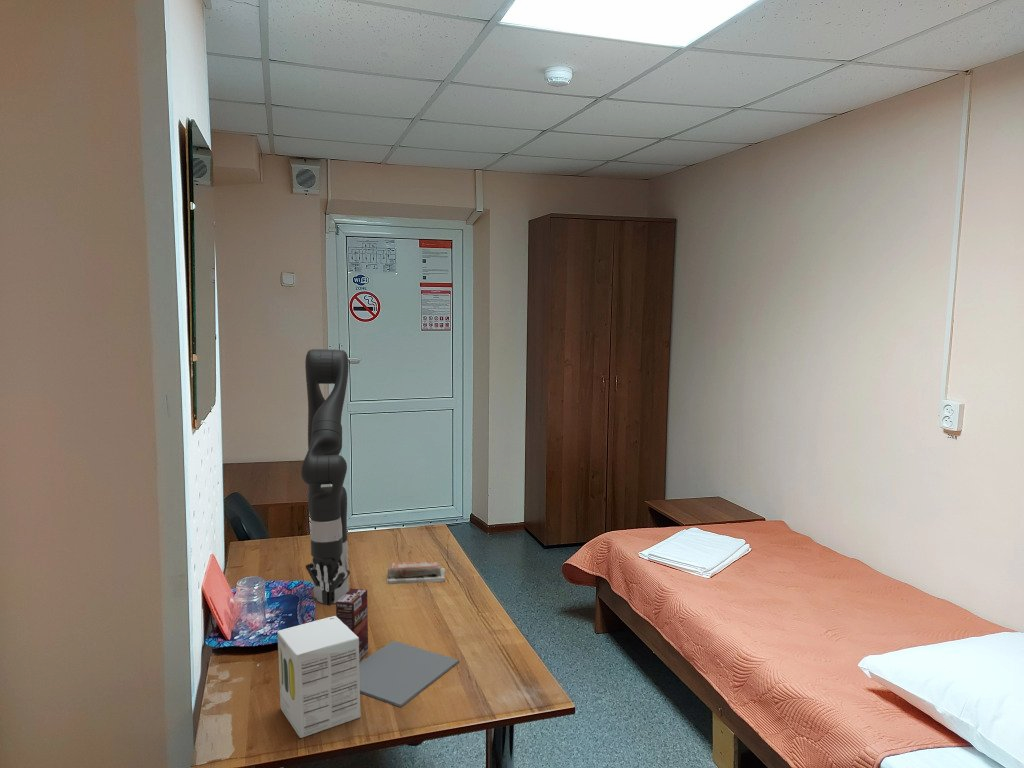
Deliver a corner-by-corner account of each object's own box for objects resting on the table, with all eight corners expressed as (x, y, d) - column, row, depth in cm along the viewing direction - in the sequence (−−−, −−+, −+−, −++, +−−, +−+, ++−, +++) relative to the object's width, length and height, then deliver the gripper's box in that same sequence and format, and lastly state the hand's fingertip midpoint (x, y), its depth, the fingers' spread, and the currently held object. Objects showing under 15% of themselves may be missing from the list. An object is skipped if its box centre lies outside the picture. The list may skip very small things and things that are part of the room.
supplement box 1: (278, 708, 149) (275, 630, 147) (338, 689, 157) (336, 614, 155) (299, 739, 138) (296, 655, 136) (362, 717, 146) (360, 637, 144)
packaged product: (385, 570, 216) (388, 559, 225) (386, 585, 216) (388, 573, 226) (444, 568, 217) (444, 557, 227) (444, 583, 218) (445, 571, 228)
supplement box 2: (355, 668, 166) (353, 603, 164) (336, 666, 167) (334, 601, 165) (369, 650, 174) (368, 589, 172) (351, 648, 175) (349, 587, 173)
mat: (331, 682, 159) (331, 680, 159) (393, 642, 178) (393, 640, 178) (400, 707, 149) (400, 704, 149) (459, 662, 168) (459, 659, 168)
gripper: (295, 535, 171) (297, 604, 173) (335, 544, 164) (337, 615, 166) (318, 527, 178) (320, 593, 179) (357, 535, 171) (359, 604, 173)
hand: (328, 604), depth 173 cm, fingers closed
